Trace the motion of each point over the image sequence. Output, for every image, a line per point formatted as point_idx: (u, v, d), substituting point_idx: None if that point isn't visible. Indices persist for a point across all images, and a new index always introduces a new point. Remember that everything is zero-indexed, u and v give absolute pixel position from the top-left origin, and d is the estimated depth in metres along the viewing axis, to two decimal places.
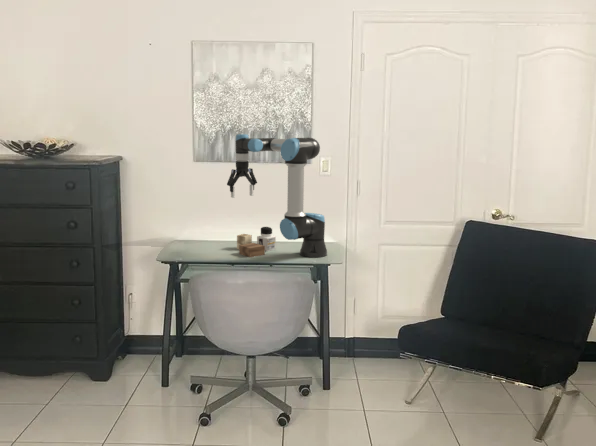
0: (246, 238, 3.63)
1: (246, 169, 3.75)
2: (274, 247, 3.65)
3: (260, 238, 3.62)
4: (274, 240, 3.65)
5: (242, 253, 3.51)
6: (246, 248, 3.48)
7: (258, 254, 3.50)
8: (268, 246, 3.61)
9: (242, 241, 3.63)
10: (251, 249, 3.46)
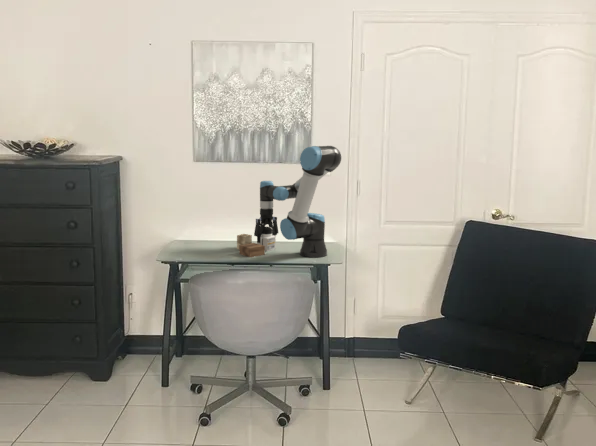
0: (246, 238, 3.63)
1: (271, 216, 3.63)
2: (274, 247, 3.65)
3: None
4: (274, 240, 3.65)
5: (242, 253, 3.51)
6: (246, 248, 3.48)
7: (258, 254, 3.50)
8: (268, 246, 3.61)
9: (242, 241, 3.63)
10: (251, 249, 3.46)
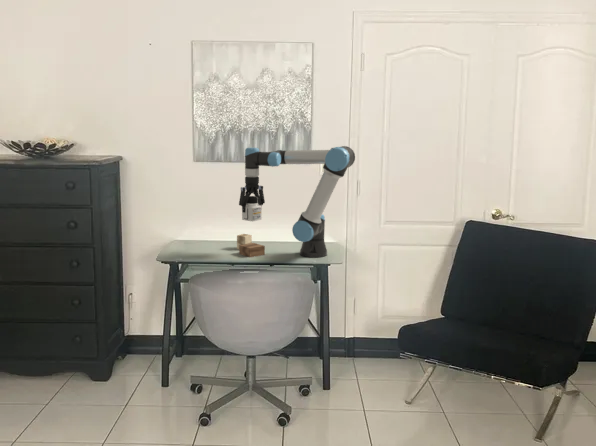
0: (246, 238, 3.63)
1: (256, 185, 3.47)
2: (260, 217, 3.49)
3: None
4: (260, 210, 3.48)
5: (242, 253, 3.51)
6: (246, 248, 3.48)
7: (258, 254, 3.50)
8: (254, 216, 3.45)
9: (242, 241, 3.63)
10: (251, 249, 3.46)
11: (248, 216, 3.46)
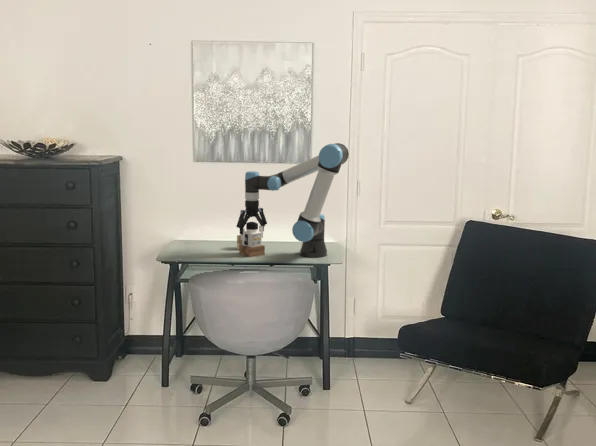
0: None
1: (256, 209, 3.49)
2: (260, 243, 3.52)
3: (245, 233, 3.49)
4: (260, 236, 3.51)
5: (242, 253, 3.51)
6: (246, 248, 3.48)
7: (258, 254, 3.50)
8: (253, 242, 3.47)
9: None
10: (251, 249, 3.46)
11: (248, 242, 3.48)
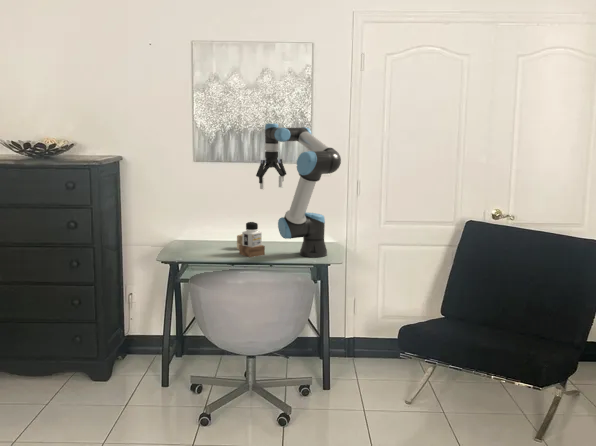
0: None
1: (276, 160, 3.62)
2: (260, 243, 3.52)
3: (245, 233, 3.49)
4: (260, 236, 3.51)
5: (242, 253, 3.51)
6: (246, 248, 3.48)
7: (258, 254, 3.50)
8: (253, 242, 3.47)
9: None
10: (251, 249, 3.46)
11: (248, 242, 3.48)
